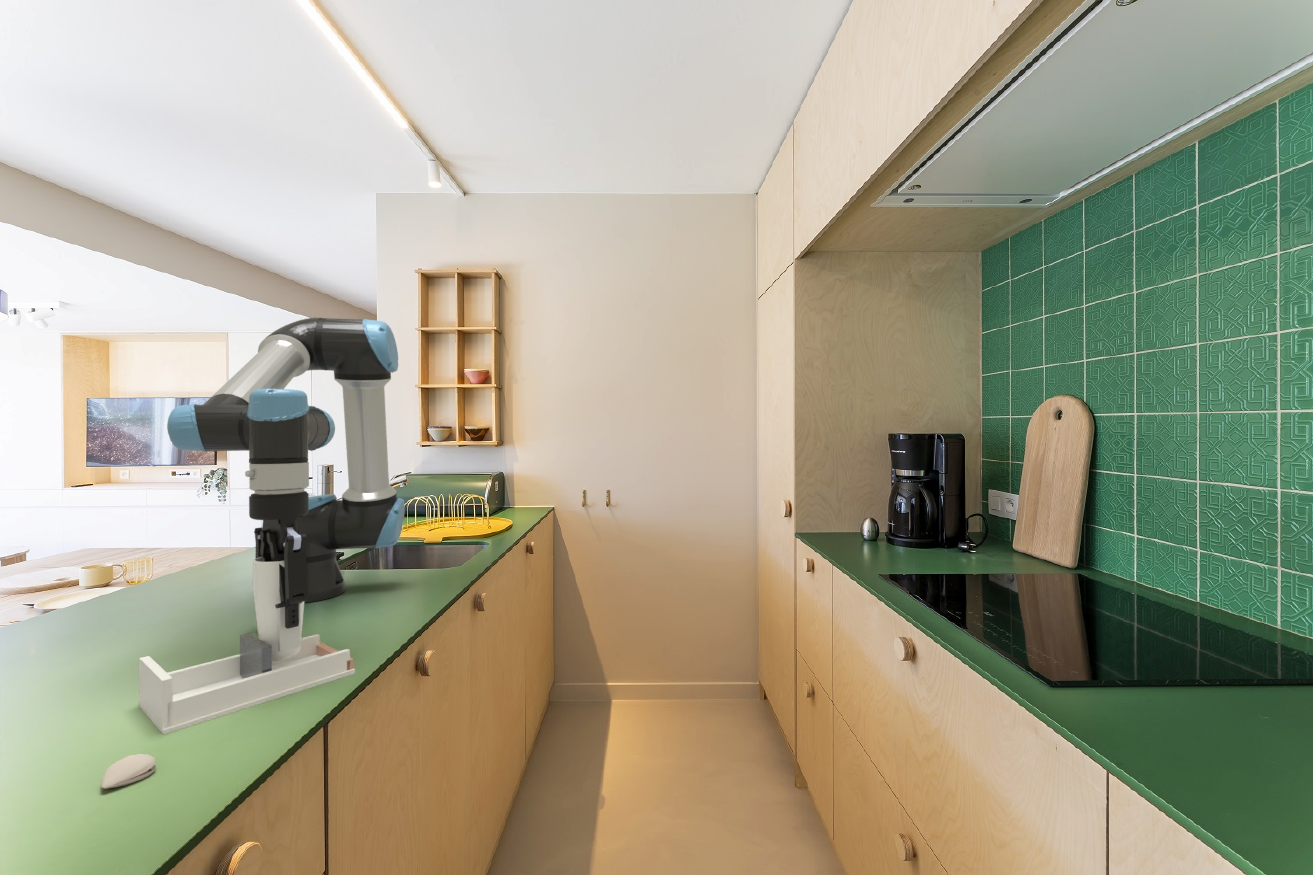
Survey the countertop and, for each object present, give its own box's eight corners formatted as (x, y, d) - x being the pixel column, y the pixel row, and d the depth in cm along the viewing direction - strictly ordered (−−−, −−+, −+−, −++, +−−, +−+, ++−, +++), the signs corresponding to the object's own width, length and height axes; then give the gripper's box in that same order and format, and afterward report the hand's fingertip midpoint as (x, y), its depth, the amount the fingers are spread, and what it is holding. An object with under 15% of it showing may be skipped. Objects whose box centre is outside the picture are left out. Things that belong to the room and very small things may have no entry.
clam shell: (165, 770, 63) (165, 748, 63) (124, 799, 58) (124, 775, 58) (125, 771, 63) (125, 749, 63) (81, 800, 58) (81, 776, 58)
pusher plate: (249, 672, 87) (249, 633, 87) (271, 688, 81) (271, 646, 81) (240, 674, 86) (239, 635, 86) (262, 691, 80) (261, 648, 80)
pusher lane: (319, 654, 96) (319, 614, 96) (355, 674, 88) (354, 630, 88) (138, 706, 78) (138, 657, 78) (163, 736, 70) (163, 681, 70)
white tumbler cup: (249, 655, 86) (248, 557, 86) (300, 643, 91) (300, 550, 91) (258, 668, 81) (257, 564, 81) (311, 655, 86) (311, 557, 86)
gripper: (228, 489, 89) (229, 636, 89) (275, 497, 77) (276, 666, 77) (283, 486, 95) (284, 623, 95) (333, 492, 83) (334, 650, 83)
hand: (280, 642), depth 86 cm, fingers closed on white tumbler cup, 6 cm apart
